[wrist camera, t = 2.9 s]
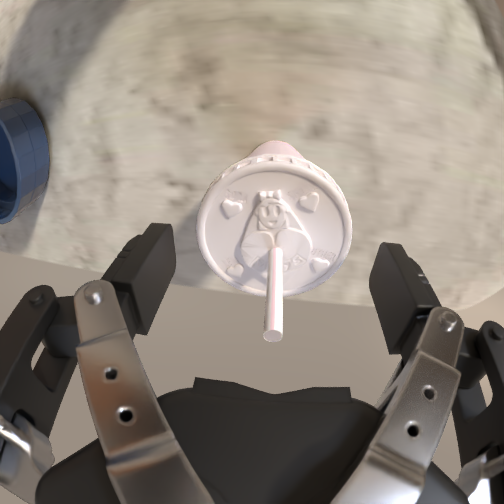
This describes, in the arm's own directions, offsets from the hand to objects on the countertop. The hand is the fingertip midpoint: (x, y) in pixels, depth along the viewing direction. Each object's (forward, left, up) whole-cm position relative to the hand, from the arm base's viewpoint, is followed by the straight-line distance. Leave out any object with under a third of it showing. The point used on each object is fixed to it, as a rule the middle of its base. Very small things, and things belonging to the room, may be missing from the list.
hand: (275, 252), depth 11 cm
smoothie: (0, 0, -11) cm, 11 cm away
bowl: (-14, -20, -10) cm, 27 cm away
